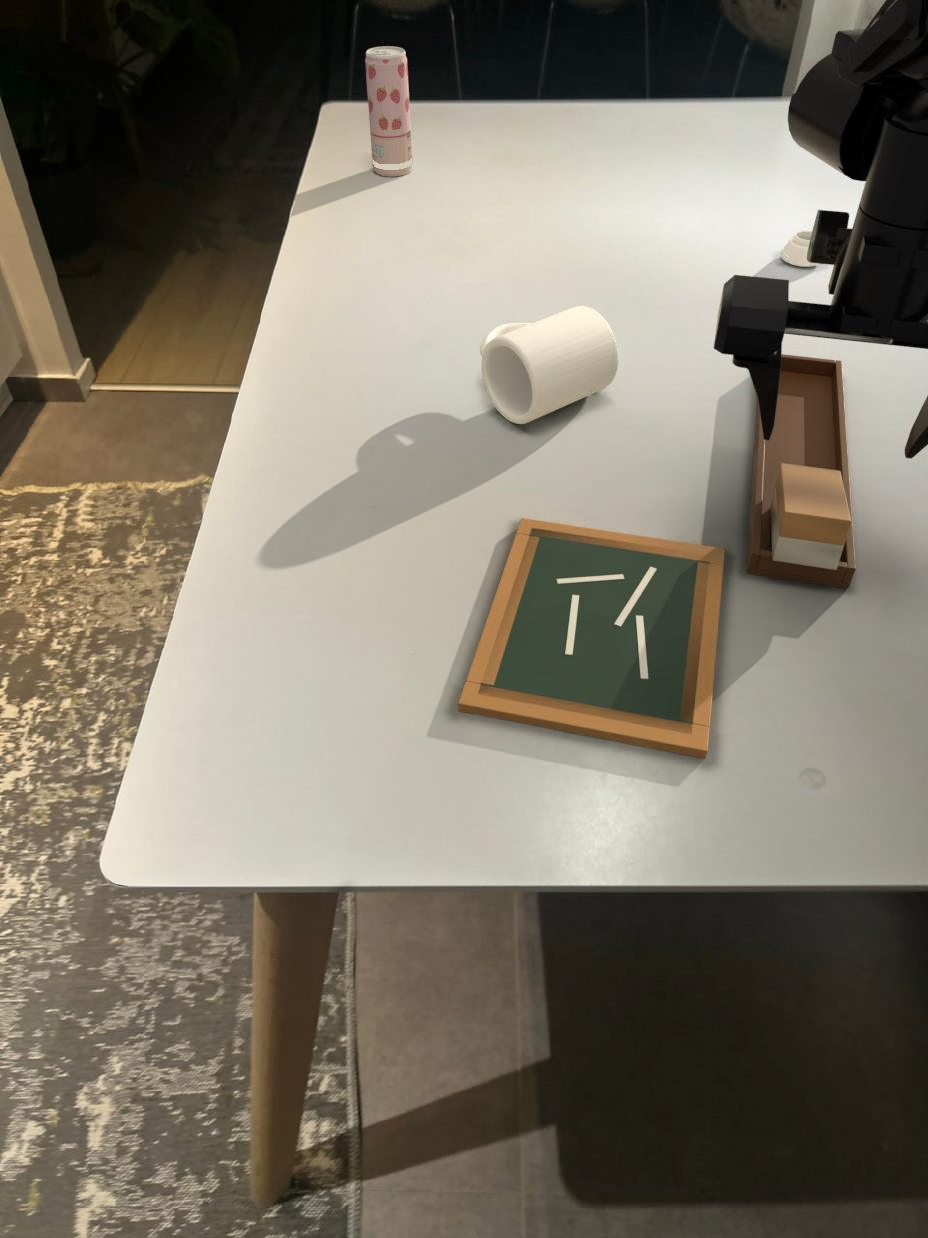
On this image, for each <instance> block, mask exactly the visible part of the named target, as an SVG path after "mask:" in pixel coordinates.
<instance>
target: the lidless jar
mask: <svg viewBox="0 0 928 1238" xmlns="http://www.w3.org/2000/svg"><path fill="white" fill-rule="evenodd" d="M811 234H812V230H798V231H796V232H794V234H793V236H792V237H791V238H790V239H789V240H788V242H787V243H786V244H785V245H784V247H783V248H784V250H783V248H782V249H781V250H780V258H781V260H783V261H784V262H785V263H788V264H790V265H791V266H796V267H803V268H809V267H810V268H811V267H815V266H819V265H820V264H819V263H810V262H808V261H807V252H808V248H809V243H810V239H811ZM783 251H784V252H785V254H786V255H788V256H789V257H788V256H786V255H785V254H784V253H783Z"/></svg>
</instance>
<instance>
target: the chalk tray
mask: <svg viewBox="0 0 928 1238" xmlns="http://www.w3.org/2000/svg"><path fill="white" fill-rule="evenodd" d="M845 403H846V402H845V389H844V372H843V361H842V360H838V359H827V358H819V357H811V356H801V355H793V354H783V353H782V356H781V372H780V380H779V389H778V398H777V406H776V415H775V423H774V428H773V431H772V434H771V437H770V440H764V439H763V431H762V424H761V417H760V409H759V403H758V398H757V397H756V409H755V426H754V442H753V444H754V445H753V459H752V460H753V461H752V474H751V475H752V477H751V490H750V491H751V492H750V510H749V525H748V541H747V558H746V559H747V561H746V574H751V575H758V576H763V577H768V578H769V577H771V578H776V579H783V580H790V581H796V582H802V583H803V582H804V583H809V584H814V585H821V586H828V587H835V588H840V589H849V588H850V585H851V583H852V580H853V578H854V575H855V573H856V569H857V567H856V565H857V563H856V553H855V552H856V551H855V535H854V523H853V522H854V521H853V508H852V507H853V505H852V493H851V492H852V491H851V478H850V461H849V447H848V434H847V432H848V431H847V418H846V405H845ZM781 463H785V464H792V465H800V466H807V467H815V468H822V469H830V470H837V471H840V472H841V476H842V481H843V486H844V490H845V495H846V499H847V504H848V508H849V513H850V518H851V524H850V527H849V531H848V534H847V537H846V541H845V544H844V547H843V550H842V554H841V557H840V560H839V564H838V567H837V570H832V569H826V568H819V567H813V566H806V565H800V564H793V563H786V562H780V561H773V557H772V539H771V521H770V505H771V501H772V497H773V493H774V489H775V485H776V481H777V477H778V473H779V469H780V465H781Z"/></svg>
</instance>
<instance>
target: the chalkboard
mask: <svg viewBox="0 0 928 1238" xmlns="http://www.w3.org/2000/svg"><path fill="white" fill-rule="evenodd" d="M725 556H726V548H722V547H716V546H709V545H704V544H696V543H691V542H690V543H689V542H684V541H676V540H670V539H664V538H657V537H650V536H643V535H639V534H638V535H637V534H632V533H625V532H624V533H623V532H617V531H611V530H603V529H597V528H591V527H585V526H584V527H583V526H578V525H571V524H564V523H558V522H551V521H546V520H545V521H544V520H538V519H531V518H524V517H521V518H520V521H519V524H518V527H517V530H516V532H515V536H514V538H513V542H512V545H511V548H510V550H509V554H508V557H507V560H506V562H505V565H504V568H503V570H502V574H501V577H500V579H499V583H498V586H497V588H496V592H495V594H494V597H493V600H492V603H491V606H490V609H489V612H488V615H487V617H486V620H485V623H484V627H483V629H482V632H481V635H480V638H479V641H478V644H477V647H476V650H475V653H474V655H473V658H472V662H471V665H470V668H469V670H468V673H467V676H466V679H465V682H464V685H463V688H462V690H461V693H460V696H459V699H458V701H457V709H458V712H463V713H468V714H474V715H479V716H484V717H489V718H495V719H499V720H500V719H501V720H504V721H509V722H516V723H521V724H525V725H530V726H535V727H541V728H546V729H552V730H557V731H561V732H568V733H572V734H577V735H583V736H588V737H593V738H598V739H603V740H607V741H608V740H609V741H612V742H619V743H623V744H629V745H633V746H634V745H635V746H638V747H639V746H640V747H644V748H649V749H655V750H660V751H665V752H671V753H675V754H681V755H686V756H691V757H695V758H696V757H697V758H701V759H706V758H707V754H708V750H709V742H710V741H709V740H710V728H711V718H712V706H713V695H714V685H715V683H714V682H715V671H716V661H717V660H716V659H717V648H718V638H719V637H718V636H719V624H720V613H721V602H722V591H723V579H724V568H725V567H724V565H725Z"/></svg>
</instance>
